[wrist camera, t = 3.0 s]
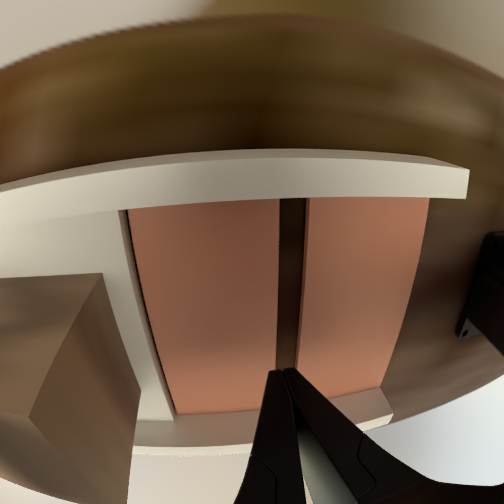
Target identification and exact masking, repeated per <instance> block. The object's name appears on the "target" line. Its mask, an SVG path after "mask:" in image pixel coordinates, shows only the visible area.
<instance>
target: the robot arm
mask: <svg viewBox="0 0 504 504" xmlns="http://www.w3.org/2000/svg"><path fill="white" fill-rule="evenodd" d="M480 333H481V334H482V335H483V336H484V337H485V338H486V339H487V340H488V341H489V342H490V343H491V344H492V345H493V346H494V348H495V349H496V350H497V351H498V352H499V353H500V354H501V355H502V356H503V357H504V232H494V233H490V234H489V235H488V237H487V238H486V241H485V244H484V248H483V252H482V256H481V260H480V263H479V267H478V270H477V274H476V277H475V280H474V283H473V286H472V289H471V292H470V295H469V298H468V301H467V304H466V307H465V309H464V312H463V315H462V317H461V320H460V323H459V325H458V328H457V330H456V333H455V334H456V336H457V337H458V338H459V339H460V340H463V339H466V338H469V337H472V336H474V335H477V334H480ZM302 473H303V474H302ZM303 476H304V478H305V481H306V484H307V487H308V490H309V493H310V496H311V499H312V501H313V504H504V483H503V484H500V485H495V486H476V485H461V484H451V483H443V482H438V481H434V480H432V479H429V478H427V477H425V476H423V475H422V474H420V473H419V472H417V471H415V470H414V469H412V468H410V467H409V466H407V465H406V464H404V463H403V462H401V461H400V460H398V459H397V458H395V457H394V456H392V455H391V454H389V453H388V452H387V451H385V450H384V449H382V448H381V447H380V446H379V445H377V444H376V443H375V442H374V441H373V440H372V439H370V438H369V437H368V436H367V435H366V434H365V433H363V431H362V430H360V429H359V428H358V427H357V426H356V425H355V424H354V423H353V422H352V421H351V420H349V419H348V418H347V417H346V416H345V415H344V414H343V413H342V412H341V411H340V410H339V409H338V408H336V407H335V406H334V405H333V404H332V403H331V402H330V401H329V400H328V399H327V398H326V397H325V396H324V395H323V394H322V393H321V392H320V391H318V390H317V389H316V388H315V387H314V386H313V385H312V384H311V383H310V382H309V381H308V380H307V379H306V378H305V377H304V376H303V375H302V374H301V373H300V372H299V371H298V370H297V369H296V368H294V367H292V368H284V369H282V370H280V369H277V370H270V371H269V372H268V375H267V380H266V385H265V390H264V395H263V399H262V404H261V409H260V413H259V418H258V422H257V427H256V431H255V436H254V440H253V444H252V449H251V453H250V457H249V461H248V465H247V469H246V472H245V476H244V479H243V482H242V484H241V487H240V490H239V492H238V495H237V497H236V499H235V501H234V503H233V504H306V497H305V489H304V481H303Z"/></svg>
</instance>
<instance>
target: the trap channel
mask: <svg viewBox="0 0 504 504" xmlns="http://www.w3.org/2000/svg"><path fill="white" fill-rule="evenodd" d="M468 179H469V169H466V168H463V167H460V166H457V165H453V164H450V163H447V162H444V161H440V160H437V159H433V158H430V157H424V156H416V155H406V154H396V153H384V152H371V151H355V150H332V149H246V150H223V151H207V152H193V153H181V154H170V155H160V156H151V157H143V158H135V159H127V160H120V161H113V162H106V163H100V164H94V165H88V166H82V167H77V168H71V169H66V170H61V171H56V172H51V173H47V174H42V175H37V176H33V177H29V178H25V179H20V180H16V181H12V182H9V183H5V184H1V185H0V278H13V277H32V276H51V275H70V274H87V273H102V274H103V278H104V282H105V285H106V289H107V293H108V296H109V300H110V303H111V306H112V310H113V313H114V316H115V319H116V323H117V326H118V329H119V332H120V335H121V338H122V341H123V344H124V347H125V349H126V352H127V355H128V358H129V360H130V363H131V366H132V368H133V371H134V373H135V376H136V379H137V381H138V384H139V386H140V388H141V397H140V402H139V409H138V415H137V421H136V428H135V435H134V442H133V450H132V454H137V455H154V456H211V455H229V454H241V453H251V449H252V444H253V440H254V436H255V431H256V427H257V422H258V418H259V413H260V409H261V404H262V399H263V395H264V390H265V385H266V380H267V375H268V372H269V371H270V370H275V361H276V335H277V305H278V266H279V198H306V217H305V239H304V258H303V274H302V289H301V302H300V315H299V327H298V338H297V349H296V359H295V368H296V369H297V370H298V371H299V372H300V373H301V374H302V375H303V376H304V377H305V378H306V379H307V380H308V381H309V382H310V383H311V384H312V385H313V386H314V387H315V388H316V389H317V390H318V391H320V392H321V393H322V394H323V395H324V396H325V397H326V398H327V399H328V400H329V401H330V402H331V403H332V404H333V405H334V406H335V407H336V408H338V409H339V410H340V411H341V412H342V413H343V414H344V415H345V416H346V417H347V418H348V419H349V420H351V421H352V422H353V423H354V424H355V425H356V426H357V427H358V428H359V429H360V430H362V431H365V430H369V429H372V428H376V427H379V426H382V425H385V424H388V423H389V421H390V420H391V418H392V416H393V414H394V412H393V410H392V409H391V407H390V405H389V403H388V401H387V399H386V398H385V396H384V394H383V392H382V390H381V389H380V385H381V382H382V380H383V377H384V375H385V372H386V369H387V367H388V364H389V361H390V358H391V356H392V353H393V350H394V347H395V344H396V341H397V338H398V335H399V332H400V329H401V325H402V322H403V319H404V315H405V312H406V309H407V305H408V301H409V298H410V294H411V290H412V286H413V282H414V278H415V274H416V270H417V265H418V261H419V256H420V251H421V247H422V241H423V236H424V231H425V225H426V219H427V213H428V206H429V199H430V198H456V199H466V194H467V187H468ZM126 209H128V215H129V221H130V228H131V234H132V239H133V245H134V251H135V256H136V261H137V266H138V271H139V276H140V281H141V286H142V290H143V295H144V299H145V303H146V307H147V312H148V316H149V320H150V324H151V327H152V331H153V335H154V339H155V342H156V346H157V350H158V353H159V357H160V360H161V364H162V367H163V370H164V373H165V377H166V380H167V383H168V386H169V389H170V392H171V395H172V398H173V401H174V404H175V407H176V409H175V408H174V406H173V403H172V400H171V397H170V394H169V391H168V388H167V385H166V382H165V379H164V375H163V372H162V369H161V366H160V362H159V359H158V356H157V352H156V349H155V345H154V341H153V338H152V334H151V330H150V327H149V323H148V319H147V315H146V311H145V307H144V303H143V298H142V294H141V290H140V285H139V281H138V276H137V271H136V266H135V261H134V256H133V251H132V245H131V240H130V234H129V228H128V222H127V215H126Z"/></svg>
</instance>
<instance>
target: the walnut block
mask: <svg viewBox="0 0 504 504" xmlns="http://www.w3.org/2000/svg"><path fill="white" fill-rule="evenodd" d="M140 397H141V388H140V386H139V384H138V381H137V379H136V376H135V373H134V371H133V368H132V366H131V363H130V360H129V358H128V355H127V352H126V349H125V347H124V344H123V341H122V338H121V335H120V332H119V329H118V326H117V323H116V319H115V316H114V313H113V310H112V306H111V303H110V300H109V296H108V293H107V289H106V285H105V282H104V278H103V274H102V273H87V274H70V275H51V276H32V277H13V278H0V477H1V478H3V479H5V480H8V481H10V482H13V483H15V484H18V485H20V486H23V487H26V488H28V489H31V490H34V491H37V492H40V493H43V494H46V495H49V496H53V497H56V498H59V499H63V500H67V501H71V502H75V503H78V504H127V496H128V485H129V475H130V466H131V458H132V450H133V442H134V435H135V428H136V421H137V415H138V409H139V402H140Z"/></svg>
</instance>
